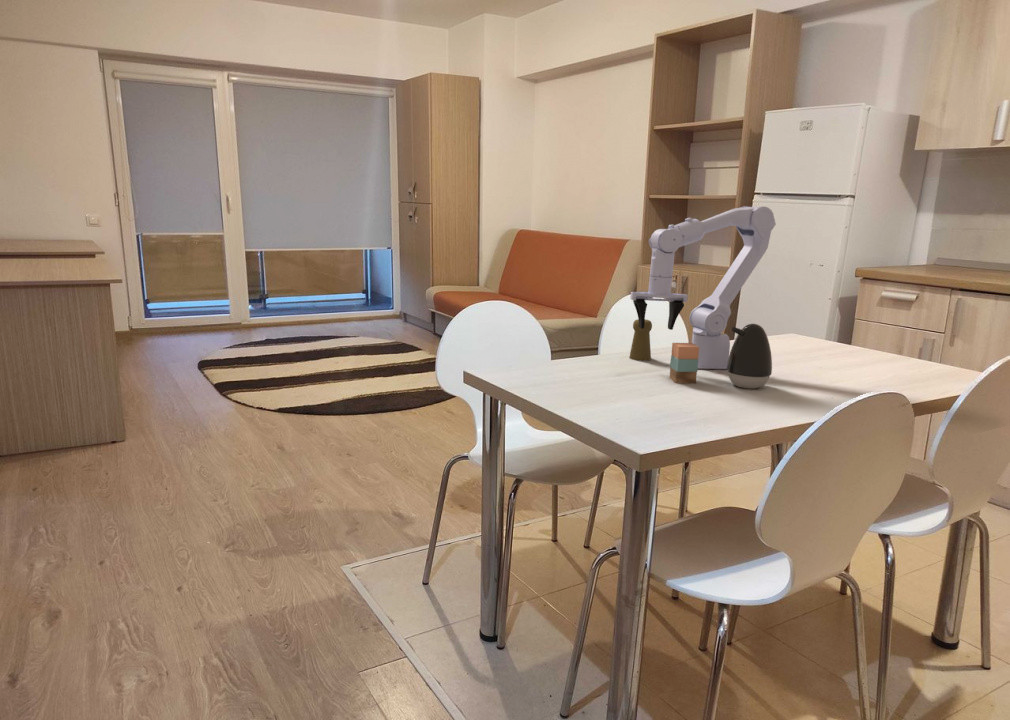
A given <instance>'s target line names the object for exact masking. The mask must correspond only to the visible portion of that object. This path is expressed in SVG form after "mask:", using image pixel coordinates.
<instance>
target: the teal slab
mask: <svg viewBox="0 0 1010 720" xmlns="http://www.w3.org/2000/svg"><path fill="white" fill-rule="evenodd" d="M669 367H671V368H673V369H674V370H676V371H677V372H697V373H698V359H677V358H676V357H674V356H673V355H672V354H671V355H670V365H669Z"/></svg>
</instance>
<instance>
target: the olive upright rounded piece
mask: <svg viewBox="0 0 1010 720" xmlns="http://www.w3.org/2000/svg"><path fill="white" fill-rule="evenodd" d="M632 328H633V330H634V333H633V338H632V342H631V346H630V351H629V358H628V359H630V360H634V361H639V360H641V362H643V361H644V360H645V361H646V360H647V361H651V360H652V355H651V354H652V353H651V335H650V332H651V331H652V328H653V324H652V321H651V320H649V319H646V318H645V324H644V329H641V328H640V327H639V319H635V320H634V321H633V323H632ZM645 361H644V362H645Z"/></svg>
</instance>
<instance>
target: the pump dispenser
mask: <svg viewBox="0 0 1010 720" xmlns="http://www.w3.org/2000/svg"><path fill="white" fill-rule="evenodd" d="M731 331H732V332H733V333H735V334H737V336H736V338H735V339H734V342H733V344H732V346H731V348H730V351H729V359H728V363H727V369H726V371H727V375H728V378H729V380H730V382H731V383H732V384H733V385H734V386H736V387H739V388H741V389H746V388H748V389H749V390H754V389H756V388H757V389H759V388H761V387H764V386H765V385H766V384H767V383H768V380H769V379H770V376H771V375H772V373H773V356H772V351H771V346H770V342H769V337H768V336H767V333H766V331H765V329H764V328H763V326H761V325H760V324H757V323H749V324H746V325H745V326H743V328H738V327H735V326H732V327H731Z"/></svg>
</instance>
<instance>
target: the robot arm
mask: <svg viewBox="0 0 1010 720" xmlns="http://www.w3.org/2000/svg"><path fill="white" fill-rule="evenodd" d="M731 226H732V227H735V228H736V230H737V231H738V233H739V235H740V237H741V238H742V241H743V247H742V249H740V251H739V253H738V254H737V256H736V258H735V259H734V260H733V262H732V264H731V265H730V266H729V268H728V270H727V271H726V272H725V274H724V276H723V277H722V278H721V281H720V282H719V283H718V285H717V286H716V288H715V289H714V290H713V292H712V293H711V295H710V296H707V298H705V299H703V300H702V301H701V302H700V304H699V305H698V306H696V307H694V308H693V309H692V310H691V312H690V314H689V318H688V319H689V324H690V326H691V327H692V339H691V343H693V344H695V345H697V346H698V347H699V356H698V369H700V370H701V369H702V370H704V369H706V370H710V369H711V370H712V369H713V370H727V363H728V359H729V355H730V351H731V340H730V337H729V335H728V334H727V333H723V332H724V331H725V329H726V328H727V325H728V320H729V318H730V316H731V314H732V309H731V305H732V302H733V301H734V300H735V298H736V297H737V295H738V294H739V293H740V291H741V289H742V287H743V286H744V285H745V283H746V281H747V280H748V279H749V277H750V276H751V275H752V273H753V271H754V270H755V268H756V267H757V266H758V264H759V263H760V261H761V259H762V258H763V256H764V255H765V253H766V252H767V250H768V247H769V244H770V239H771V235H772V231H773V229H774V228H775V226H776V220H775V216H774V212H773V211H772V209H771V208H769V207H768V206H747V205H744V206H741V207H737V208H731V209H730V210H726V211H723V212H722V213H719V214H716V215H713V216H712V217H709V218H706V219H703V220H701V221H700V220H699V219H697V218H692V217H687V218H685V219H684V221H683V222H680V223H677V224H669V225H668V227H667V228H659V229H656V230H654V232H653V233H652V234H651V236H650V238H649V239H648V244H649V247H650V248H651V258H650V259H651V261H650V268H649V269H650V270H649V277H648V278H649V279H648V280H649V281H648V291H631V292H630V300H631V301H632V302H633V304H634V307H635V310H636V315H637V318H638V319H639V327H640V328H641V329H644V324H645V319H646V313H647V312H646V311H647V307H648V303H647V302H646V301H653V302H654V301H656V302H668V306H669V307H668V308H669V309H668V313H669V314H668V321H667V329H668V330H673V329H674V327H675V324H676V321H677V318H678V317H679V314H680V313H681V311H682V310H683V308H684V307H685V303H688V297H689V296H688V294H685V293H674V292H672V284H673V274H674V265H675V264H674V263H675V256H676V255H675V252H676V251H678V250H679V248H682V247H684V246H688V245H690V244H693V243H696V242H699V241H701V240H702V239H703V238H704V236H705V234H708V233H711V232H714V231H717V230H721V229H724V228H727V227H731Z"/></svg>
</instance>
